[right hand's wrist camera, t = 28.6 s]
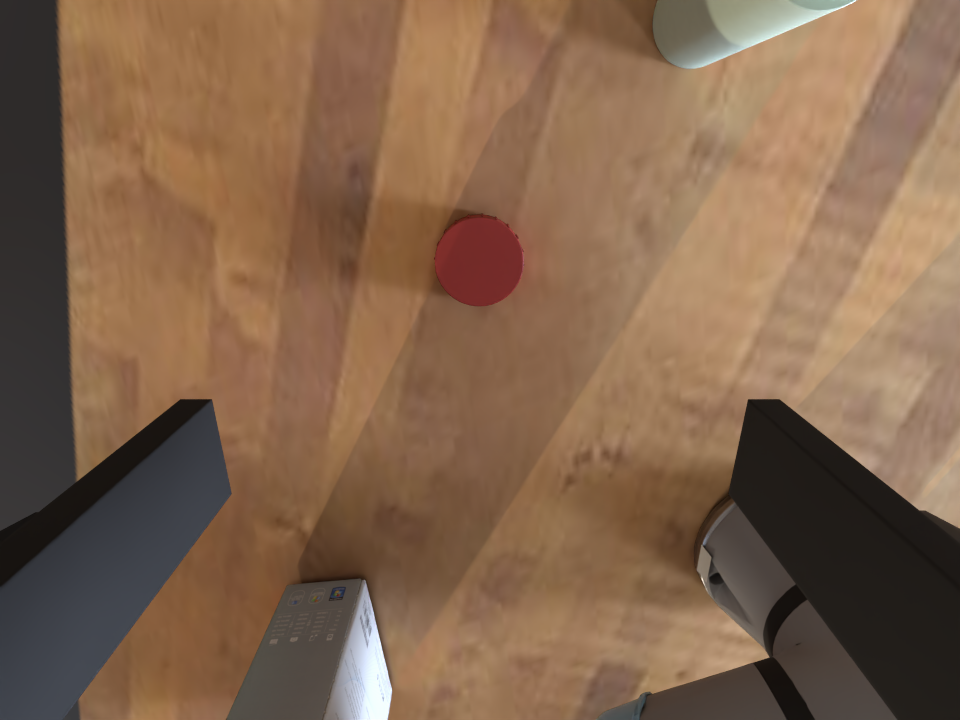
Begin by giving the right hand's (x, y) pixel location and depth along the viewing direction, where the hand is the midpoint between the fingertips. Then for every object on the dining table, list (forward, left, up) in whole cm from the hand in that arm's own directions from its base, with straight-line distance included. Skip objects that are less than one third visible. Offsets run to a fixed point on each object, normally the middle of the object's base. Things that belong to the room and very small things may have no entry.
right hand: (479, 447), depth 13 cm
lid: (0, 0, -24) cm, 24 cm away
